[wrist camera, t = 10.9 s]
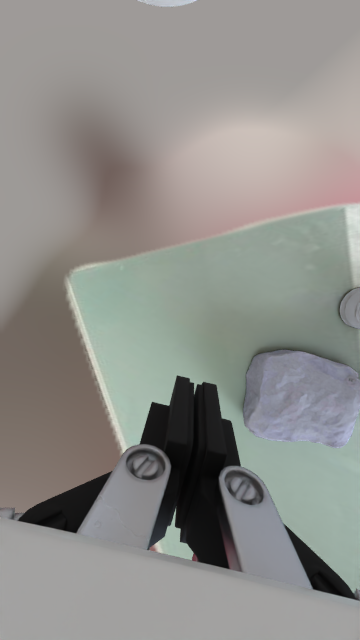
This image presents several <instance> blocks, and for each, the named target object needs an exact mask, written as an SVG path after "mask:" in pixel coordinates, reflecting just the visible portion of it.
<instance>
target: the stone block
mask: <svg viewBox="0 0 360 640" xmlns="http://www.w3.org/2000/svg"><path fill="white" fill-rule="evenodd" d="M358 376H359V375H358V373H357V372H356V371H355V370H354V369H353V368H351V367H350V366H348V365H344V364H341V363H337V362H334V361H330V360H328V359H326V358H321V357H318V356H316V355H314V354H309V353H306V352H302V351H291V350H285V349H283V350H277V351H273V352H266V353H260V354H258V355H256V356H254V358H253V360H252V363H251V365H250V368H249V370H248V371H247V373H246V381H247V382H246V396H245V402H244V408H243V416H244V423H245V426H246V427H247V428H248V429H249V431H250V432H252V433H253V434H254V435H255V436H257V437H261V438H265V439H267V440H274V441H284V442H285V441H290V442H293V441H311V442H315V443H322V444H324V445H327V446H330V447H333V448H341V447H343V446H344V445H345V444H346V443H347V442H348V440H349V438H350V437H351V436H352V432H353V429H354V424H355V421H356V418H357V415H358V412H359V409H360V380H359V379H358Z"/></svg>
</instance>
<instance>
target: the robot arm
mask: <svg viewBox="0 0 360 640" xmlns="http://www.w3.org/2000/svg"><path fill="white" fill-rule="evenodd" d="M175 509H176V518H175V527H176V528H180V529H181V532H180V542H183V543H187V544H188V546H189V547H190V548H191V550H192V551H193V552H194V554H193V557H192V560H188V559H184V558H179V557H175V556H171V555H167V554H162V553H158V552H154V551H149V549H150V547H151V546H152V545H154V544H155V543H157V542H158V541H159V540H161V539H162V538H163V537H164V536H165V533H166V529H167V526H170V525H171V522H172V519H173V515H174V512H175ZM0 640H360V590H358V589H356V591H355V592H354V593H352V591H351V590H350V588H349V587H348V585H347V584H346V583H345V582H344V581H343V580H342V579H341V578H340V576H339V575H338V574H337V573H335V572H334V571H333V570H332V569H331V568H330V567H329V566H328V565H327V564H326V563H325V562H324V561H323V560H322V559H321V558H320V557H319V556H317V555H316V554H315V553H314V552H313V551H312V550H311V549H310V548H309V547H308V546H307V545H306V544H305V543H304V542H303V541H302V540H301V539H299V538H298V537H297V536H296V535H295V534H294V533H293V532H292V531H291V530H290V529H289V528H288V527H287V526H286V525H285V524H284V523H283V522H282V520H281V518H280V515H279V513H278V511H277V509H276V507H275V504H274V502H273V500H272V498H271V496H270V493H269V491H268V489H267V487H266V486H265V484H264V482H263V481H262V480H261V479H260V478H259V477H258V476H257V475H256V474H254V473H253V472H252V471H250V470H248V469H246V468H244V467H241V465H240V460H239V455H238V450H237V446H236V441H235V436H234V431H233V427H232V423H231V421H230V420H226V419H222V418H221V411H220V405H219V399H218V392H217V386H216V385H214V384H210V383H206V382H203V383H202V385H199V384H197V387H196V391H195V394H194V383H191V382H190V379H189V378H185V377H181V376H177V378H176V381H175V385H174V389H173V393H172V397H171V401H170V405H169V406H167V405H163V404H158V403H154V402H152V404H151V407H150V411H149V414H148V417H147V421H146V424H145V428H144V431H143V434H142V438H141V441H140V444H139V445H135V446H132V447H130V448H129V449H127V450H126V451H125V452H124V453H123V455H122V456H121V458H120V460H119V461H118V463H117V465H116V467H115V468H114V470H113V471H111V472H109V473H107V474H105V475H102V476H100V477H98V478H96V479H93V480H91V481H89V482H86V483H85V484H82V485H80V486H77V487H75V488H73V489H71V490H69V491H66V492H64V493H62V494H59V495H57V496H55V497H53V498H50V499H48V500H46V501H44V502H41V503H39V504H37V505H36V506H34V507H32V508H30V509H29V510H27V511H26V512H25V513H15V508H0Z"/></svg>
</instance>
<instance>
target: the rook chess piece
mask: <svg viewBox="0 0 360 640" xmlns="http://www.w3.org/2000/svg"><path fill="white" fill-rule="evenodd" d="M340 314H341V318H342V319H343V321H344V322H345V323H346V324H347V325H349V326H351V327H354V328H357V329H360V288H356V289H353V290H352V291H350V292H349V293H348V294H347V295H346V296H345V297H344V299H343V300H342V302H341V306H340Z"/></svg>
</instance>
